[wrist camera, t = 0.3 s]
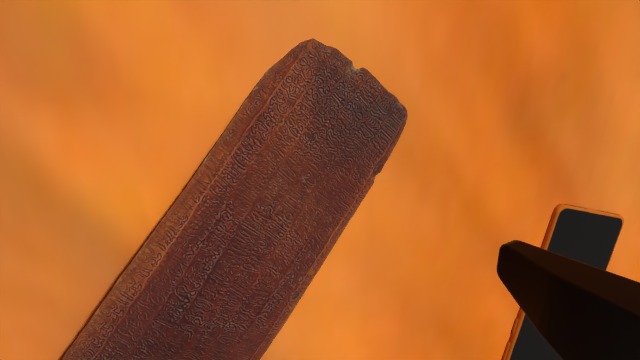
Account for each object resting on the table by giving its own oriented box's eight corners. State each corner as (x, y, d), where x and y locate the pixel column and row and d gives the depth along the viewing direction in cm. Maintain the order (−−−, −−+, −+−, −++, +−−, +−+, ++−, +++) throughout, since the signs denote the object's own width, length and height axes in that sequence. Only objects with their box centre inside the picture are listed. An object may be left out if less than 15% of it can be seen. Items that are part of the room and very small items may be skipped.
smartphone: (618, 213, 35) (628, 217, 35) (551, 393, 38) (559, 400, 37) (551, 200, 33) (560, 204, 32) (484, 395, 35) (492, 403, 35)
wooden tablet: (178, 461, 28) (179, 484, 26) (16, 414, 24) (7, 438, 22) (422, 122, 28) (437, 126, 26) (301, 14, 23) (311, 10, 22)
